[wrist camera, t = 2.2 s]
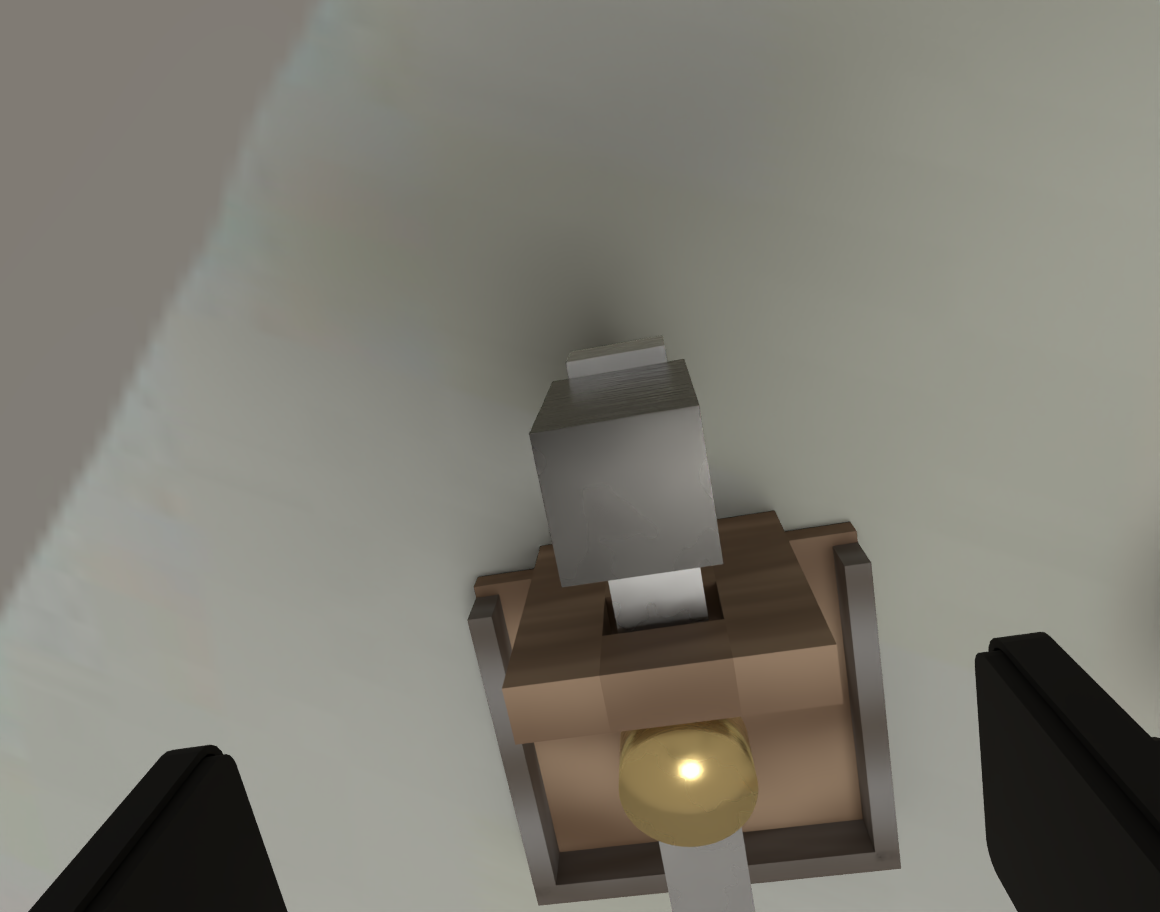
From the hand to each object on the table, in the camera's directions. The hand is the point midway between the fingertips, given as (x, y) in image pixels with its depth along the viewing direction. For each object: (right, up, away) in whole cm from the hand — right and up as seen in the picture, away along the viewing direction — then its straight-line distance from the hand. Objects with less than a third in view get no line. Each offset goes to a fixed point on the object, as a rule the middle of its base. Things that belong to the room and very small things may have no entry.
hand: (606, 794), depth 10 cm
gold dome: (+3, -6, +18) cm, 19 cm away
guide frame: (+4, -6, +27) cm, 28 cm away
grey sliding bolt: (+3, -3, +20) cm, 20 cm away
